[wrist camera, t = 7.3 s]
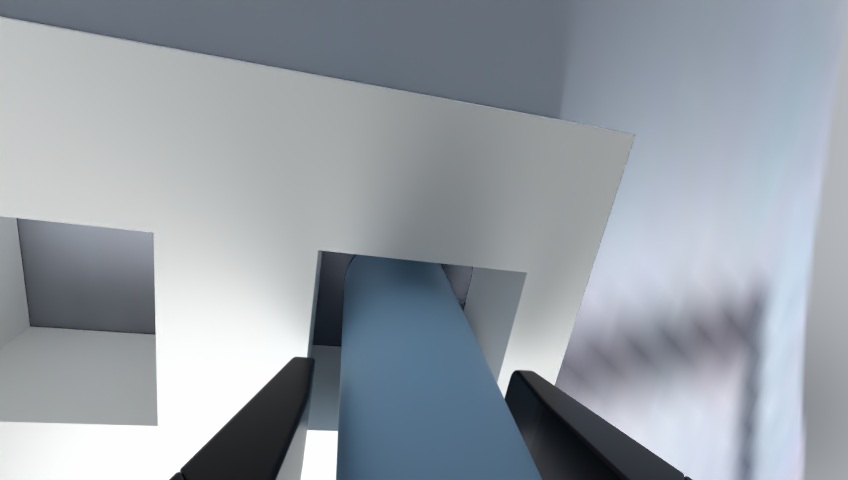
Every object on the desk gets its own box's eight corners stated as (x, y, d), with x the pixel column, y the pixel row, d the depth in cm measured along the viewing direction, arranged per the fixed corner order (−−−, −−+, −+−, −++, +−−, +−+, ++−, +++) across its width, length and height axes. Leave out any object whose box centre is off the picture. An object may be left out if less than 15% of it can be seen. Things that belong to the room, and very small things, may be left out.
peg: (338, 324, 13) (306, 883, 4) (350, 231, 12) (344, 683, 3) (434, 331, 14) (595, 832, 5) (452, 243, 13) (701, 653, 4)
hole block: (-18, 420, 13) (-146, 538, 9) (-93, -1, 9) (-337, -44, 6) (476, 434, 16) (508, 527, 12) (560, 119, 12) (635, 134, 9)
